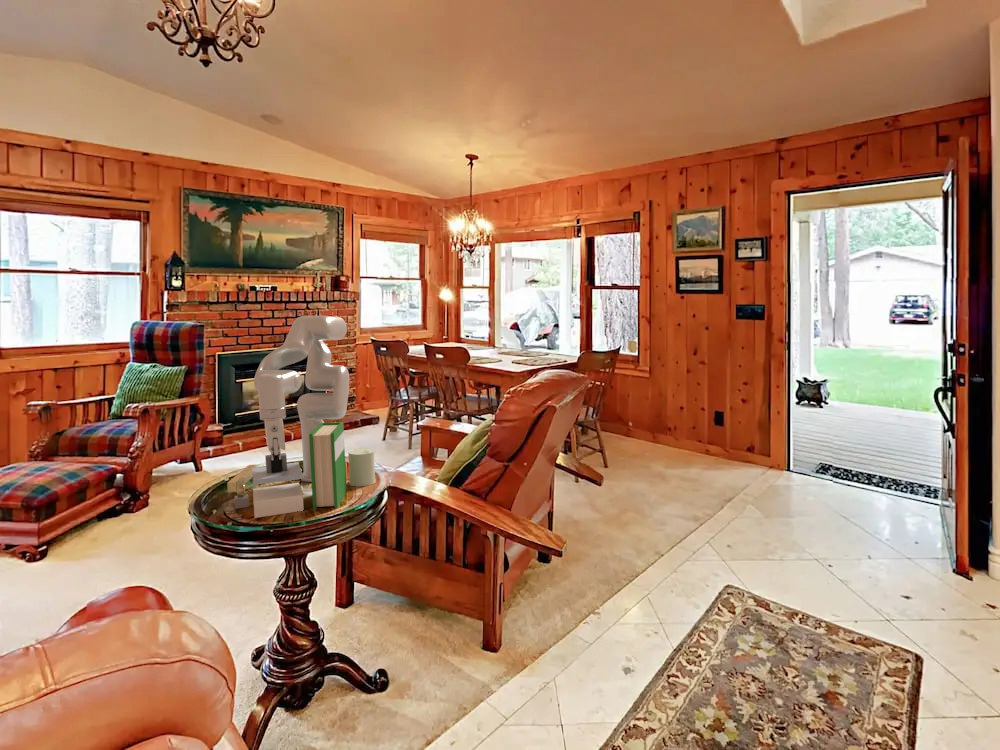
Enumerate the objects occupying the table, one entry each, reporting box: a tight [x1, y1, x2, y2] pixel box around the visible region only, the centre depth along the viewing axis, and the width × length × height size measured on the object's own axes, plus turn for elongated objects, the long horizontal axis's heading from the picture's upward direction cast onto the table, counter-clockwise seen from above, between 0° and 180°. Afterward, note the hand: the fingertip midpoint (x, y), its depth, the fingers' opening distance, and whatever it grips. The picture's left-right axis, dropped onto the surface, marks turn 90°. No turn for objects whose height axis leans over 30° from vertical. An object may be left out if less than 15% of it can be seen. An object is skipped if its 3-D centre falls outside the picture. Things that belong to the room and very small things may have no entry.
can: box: [347, 447, 377, 487], centre depth 202 cm, size 9×9×12 cm
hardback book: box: [309, 421, 347, 511], centre depth 183 cm, size 18×7×24 cm, turn 6°
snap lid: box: [252, 452, 303, 486], centre depth 177 cm, size 14×14×6 cm
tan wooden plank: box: [227, 464, 258, 497], centre depth 181 cm, size 20×2×7 cm, turn 6°
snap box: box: [233, 482, 305, 519], centre depth 177 cm, size 20×16×5 cm
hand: (276, 470), depth 177 cm, fingers closed on snap lid, 3 cm apart
